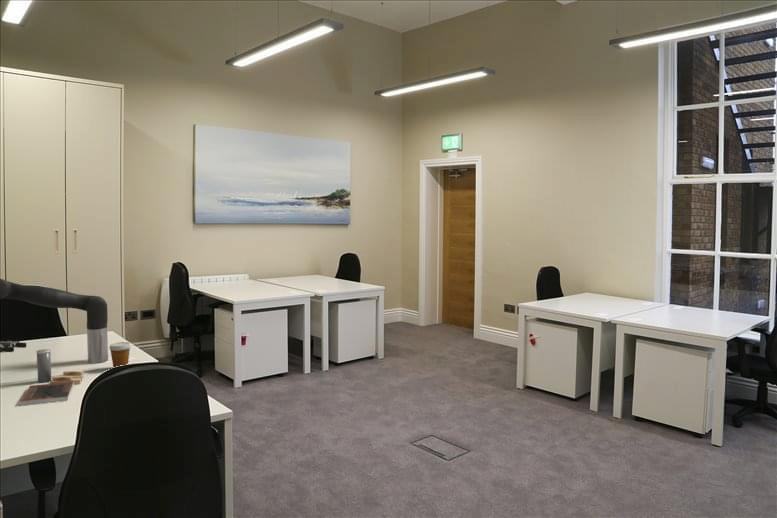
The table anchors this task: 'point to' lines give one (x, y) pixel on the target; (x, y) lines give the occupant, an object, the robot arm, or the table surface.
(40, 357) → the domed lid canister
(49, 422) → the table surface
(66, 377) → the stand
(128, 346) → the disposable coffee cup
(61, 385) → the picture frame
